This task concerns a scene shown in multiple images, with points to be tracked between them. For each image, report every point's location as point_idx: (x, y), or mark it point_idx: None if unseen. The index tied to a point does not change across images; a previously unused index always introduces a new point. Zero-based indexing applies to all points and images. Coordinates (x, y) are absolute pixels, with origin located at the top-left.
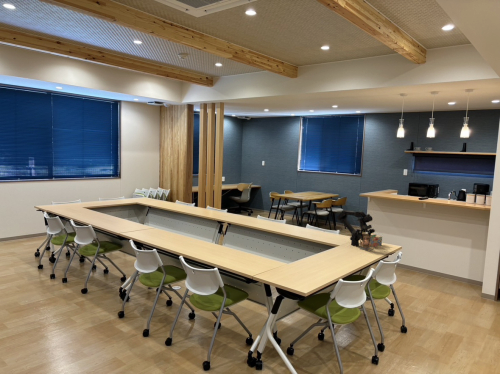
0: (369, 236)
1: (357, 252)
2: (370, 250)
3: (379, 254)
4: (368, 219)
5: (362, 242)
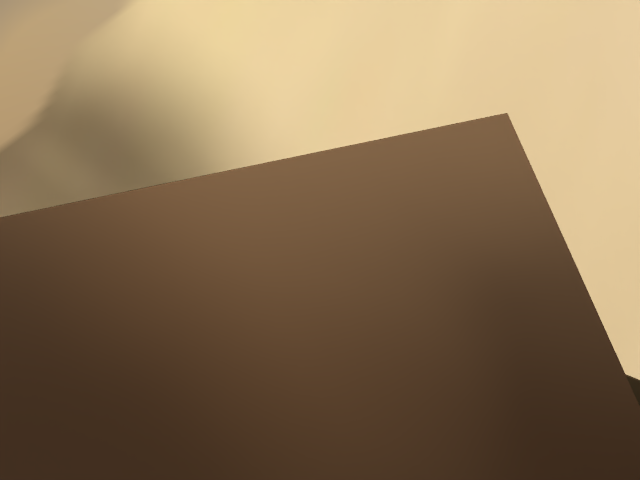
0: (19, 301)
1: None
2: None
3: (40, 162)
4: None
5: None
